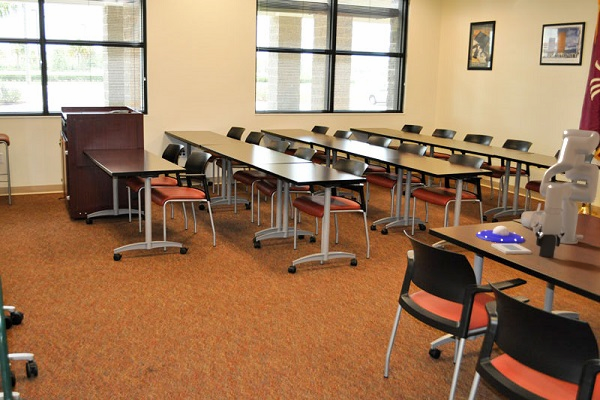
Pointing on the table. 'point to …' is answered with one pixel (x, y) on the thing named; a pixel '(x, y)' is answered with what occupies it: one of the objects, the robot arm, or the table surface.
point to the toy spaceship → (500, 236)
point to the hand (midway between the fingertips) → (547, 245)
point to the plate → (511, 248)
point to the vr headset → (531, 218)
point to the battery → (548, 246)
